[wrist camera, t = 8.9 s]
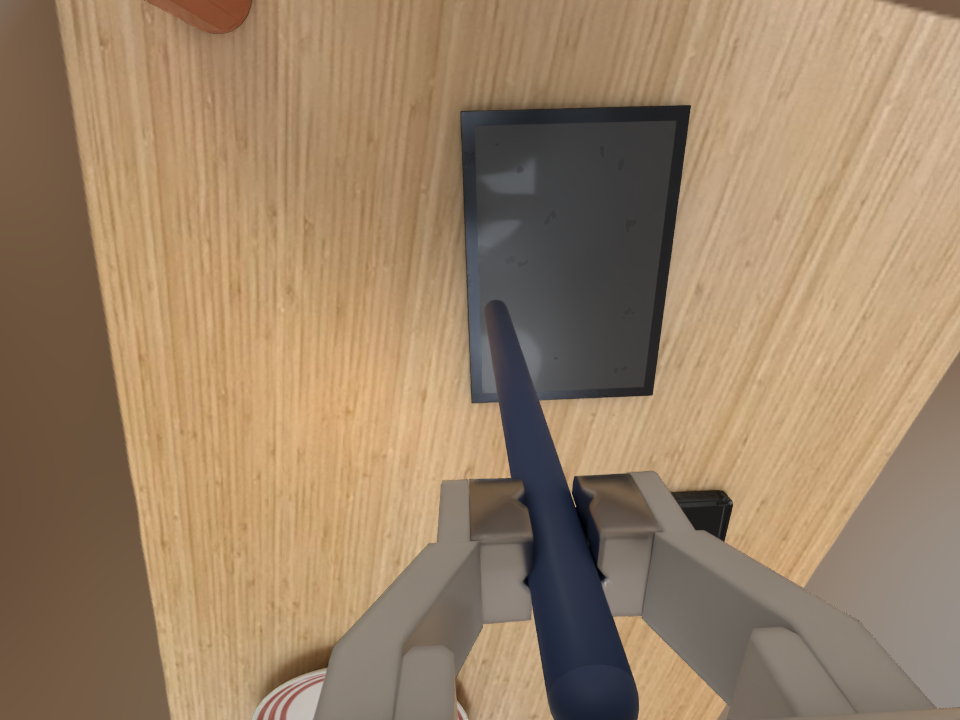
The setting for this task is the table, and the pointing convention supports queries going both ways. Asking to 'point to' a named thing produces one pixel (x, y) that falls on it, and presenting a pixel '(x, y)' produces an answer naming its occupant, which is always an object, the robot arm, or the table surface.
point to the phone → (706, 510)
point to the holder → (207, 13)
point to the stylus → (558, 554)
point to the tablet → (572, 241)
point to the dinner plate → (301, 699)
